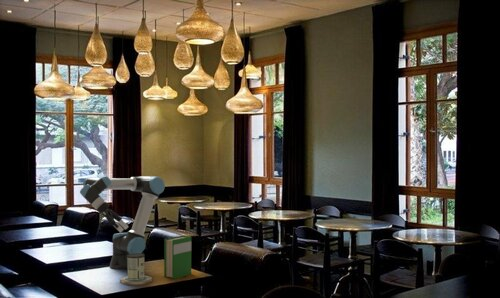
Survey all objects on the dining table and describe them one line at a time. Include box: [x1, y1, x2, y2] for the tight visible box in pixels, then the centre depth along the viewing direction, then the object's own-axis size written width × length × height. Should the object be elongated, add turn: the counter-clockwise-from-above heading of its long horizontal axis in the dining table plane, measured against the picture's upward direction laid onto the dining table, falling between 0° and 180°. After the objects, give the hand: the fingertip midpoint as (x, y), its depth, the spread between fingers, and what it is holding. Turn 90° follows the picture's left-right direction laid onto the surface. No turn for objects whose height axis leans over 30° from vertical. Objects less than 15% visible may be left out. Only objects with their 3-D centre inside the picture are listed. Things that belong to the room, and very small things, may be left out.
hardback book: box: [163, 235, 192, 280], centre depth 352 cm, size 18×7×24 cm, turn 148°
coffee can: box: [127, 253, 146, 280], centre depth 337 cm, size 10×10×14 cm
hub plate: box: [119, 275, 153, 286], centre depth 337 cm, size 19×19×2 cm
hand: (124, 229), depth 347 cm, fingers open, 13 cm apart
